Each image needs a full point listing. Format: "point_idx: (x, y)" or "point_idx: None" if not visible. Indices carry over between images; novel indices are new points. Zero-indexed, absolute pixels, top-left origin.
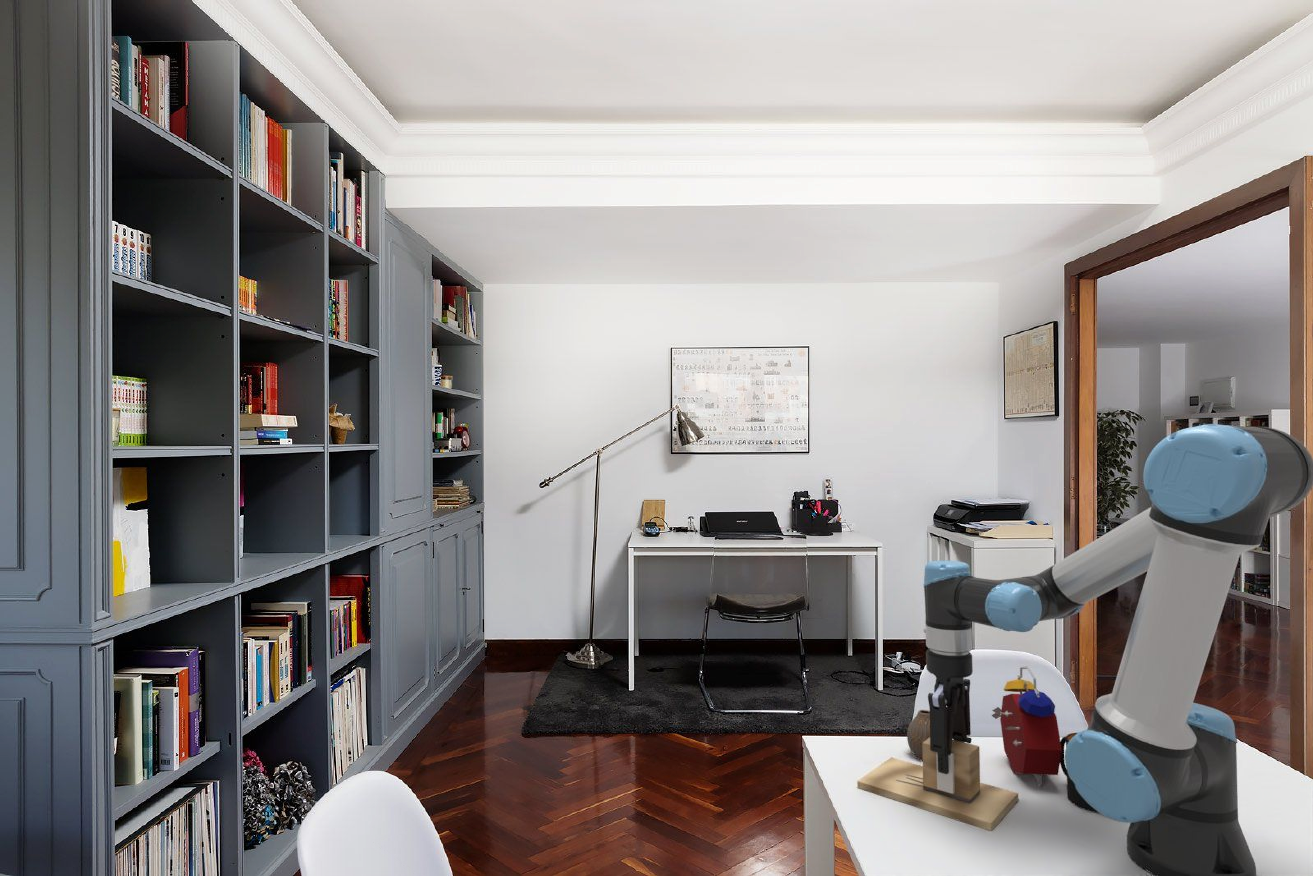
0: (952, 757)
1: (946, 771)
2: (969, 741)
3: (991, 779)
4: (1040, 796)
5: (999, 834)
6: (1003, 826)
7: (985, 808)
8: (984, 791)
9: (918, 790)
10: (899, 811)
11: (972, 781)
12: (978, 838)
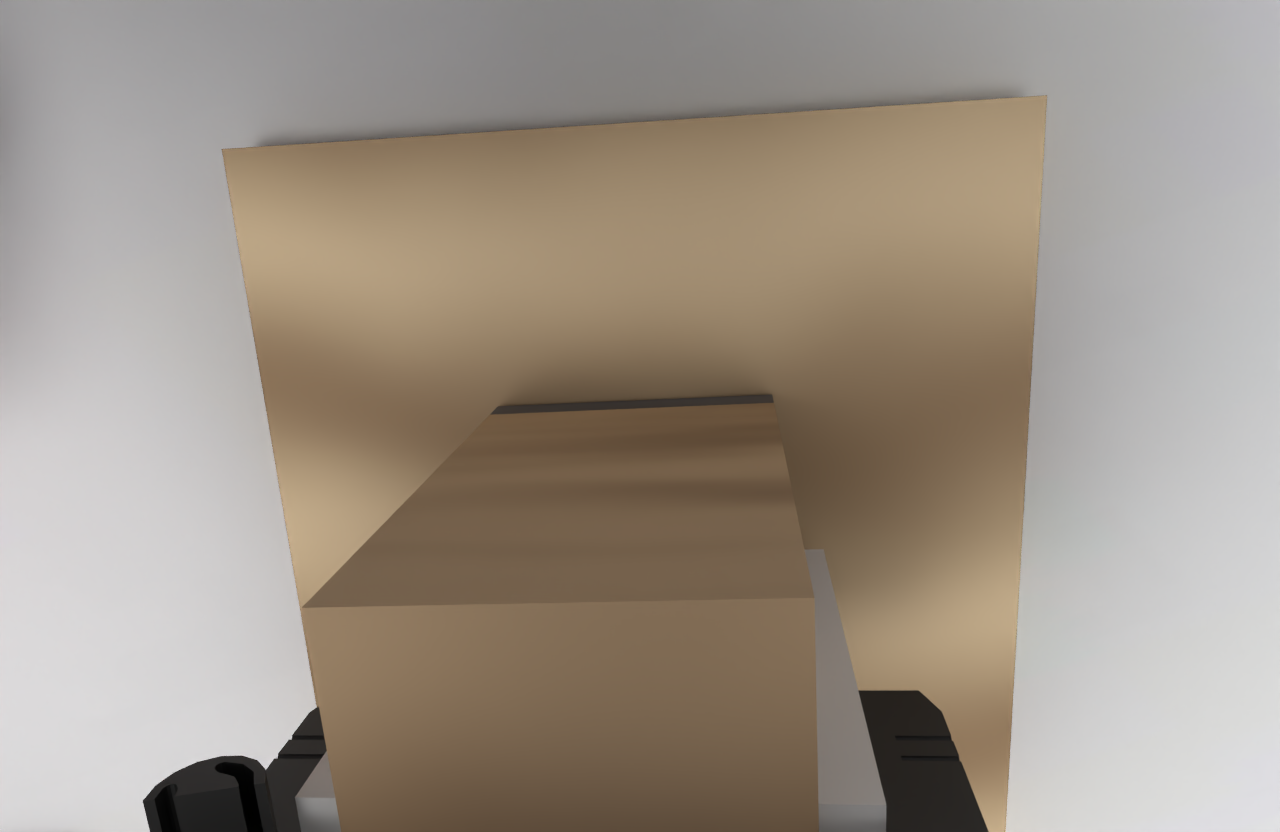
0: (867, 776)
1: (931, 712)
2: (236, 784)
3: (56, 469)
4: (23, 31)
5: (1034, 20)
6: (851, 54)
7: (765, 255)
8: (428, 393)
9: None
10: (1154, 778)
11: (691, 451)
12: (1235, 133)
